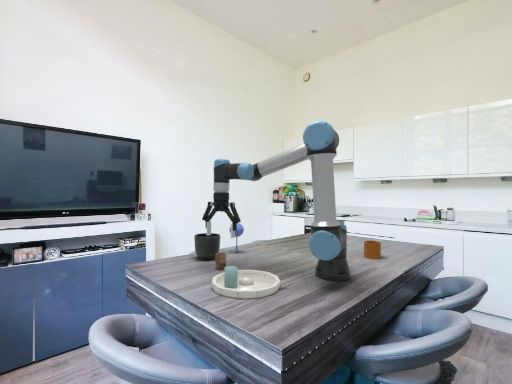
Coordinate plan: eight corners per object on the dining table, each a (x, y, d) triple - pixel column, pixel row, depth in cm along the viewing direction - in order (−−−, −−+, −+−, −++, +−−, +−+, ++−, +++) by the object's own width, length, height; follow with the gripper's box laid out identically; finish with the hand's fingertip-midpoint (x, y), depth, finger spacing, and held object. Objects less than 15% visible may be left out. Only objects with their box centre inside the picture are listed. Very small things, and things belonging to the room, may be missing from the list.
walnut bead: (227, 267, 132) (228, 253, 132) (222, 270, 128) (222, 255, 128) (219, 266, 134) (219, 252, 134) (213, 269, 130) (213, 254, 130)
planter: (207, 254, 160) (207, 232, 160) (225, 258, 152) (225, 234, 152) (188, 259, 149) (189, 235, 149) (206, 263, 140) (207, 237, 140)
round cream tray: (288, 281, 113) (288, 273, 113) (262, 303, 90) (262, 294, 90) (233, 272, 125) (233, 265, 125) (198, 290, 101) (198, 282, 101)
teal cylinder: (221, 285, 104) (222, 267, 104) (233, 283, 107) (233, 265, 107) (228, 289, 100) (228, 270, 100) (240, 286, 103) (240, 268, 103)
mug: (387, 257, 157) (387, 241, 157) (374, 260, 150) (375, 244, 150) (372, 254, 165) (373, 239, 164) (360, 256, 158) (360, 241, 158)
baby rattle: (241, 254, 160) (241, 223, 160) (227, 253, 162) (227, 223, 162) (245, 251, 169) (245, 222, 169) (231, 250, 170) (231, 221, 170)
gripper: (248, 192, 129) (247, 237, 129) (204, 191, 140) (203, 233, 140) (240, 192, 122) (239, 239, 122) (195, 191, 133) (194, 235, 133)
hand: (220, 236), depth 131 cm, fingers open, 13 cm apart
